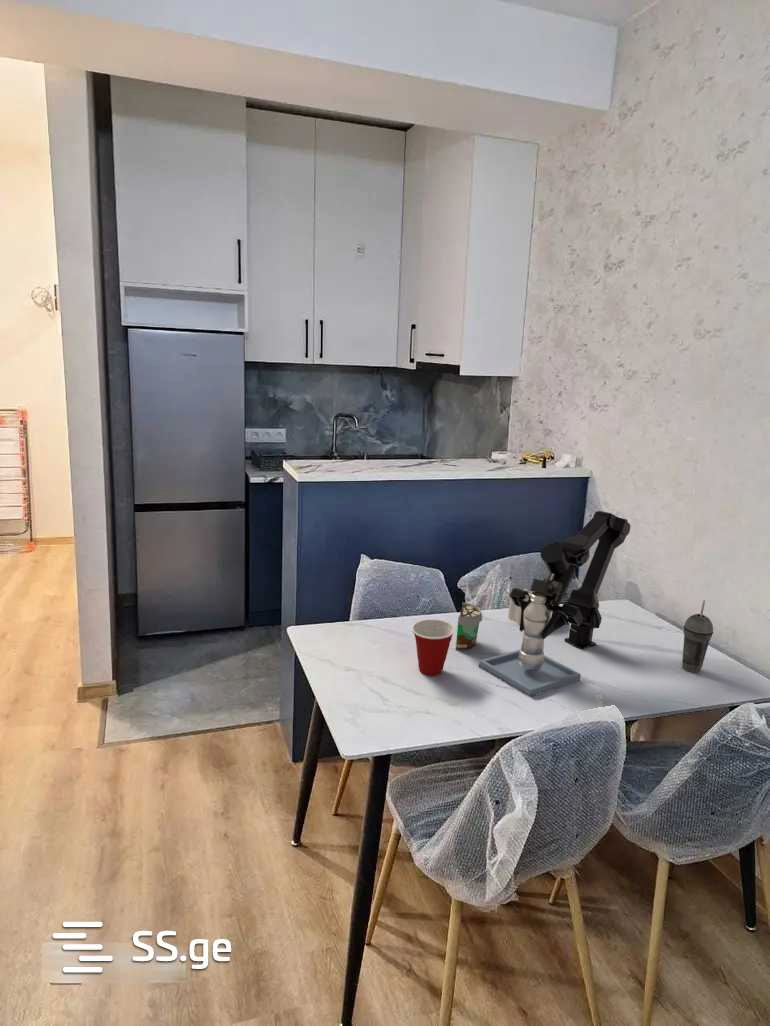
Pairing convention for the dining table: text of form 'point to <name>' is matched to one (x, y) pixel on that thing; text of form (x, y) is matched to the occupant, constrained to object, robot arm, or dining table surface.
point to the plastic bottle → (534, 633)
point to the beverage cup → (696, 641)
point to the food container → (468, 626)
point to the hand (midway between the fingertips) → (531, 634)
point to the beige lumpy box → (518, 611)
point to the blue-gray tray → (529, 673)
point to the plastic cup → (432, 644)
